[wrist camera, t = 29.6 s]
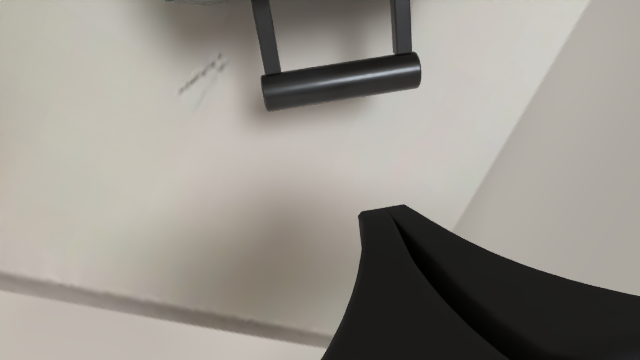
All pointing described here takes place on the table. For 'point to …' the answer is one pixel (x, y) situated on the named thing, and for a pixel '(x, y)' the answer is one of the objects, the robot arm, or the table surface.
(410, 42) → the drawer
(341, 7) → the table surface
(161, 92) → the table surface
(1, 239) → the table surface
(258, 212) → the table surface
